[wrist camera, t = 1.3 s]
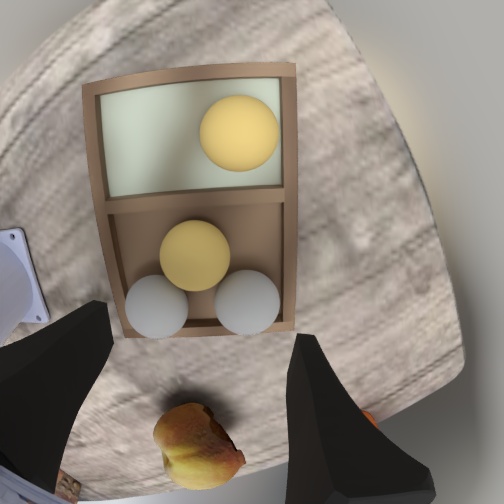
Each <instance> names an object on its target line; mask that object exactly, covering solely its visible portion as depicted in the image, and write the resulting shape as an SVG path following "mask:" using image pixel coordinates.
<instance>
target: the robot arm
mask: <svg viewBox="0 0 504 504" xmlns="http://www.w3.org/2000/svg"><path fill="white" fill-rule="evenodd" d="M12 234H14V236H15V238H14V237H13V235H12ZM49 320H50V316H49V314H48V311H47V308H46V305H45V303H44V300H43V297H42V294H41V291H40V288H39V285H38V282H37V279H36V275H35V272H34V269H33V265H32V262H31V259H30V255H29V251H28V248H27V244H26V240H25V236H24V233H23V231H22V230H21V229H20V228H15V229H8V230H1V231H0V504H28V503H27V502H29V503H31V504H72V503H70V502H68V501H66V500H63V499H61V498H59V497H57V496H55V495H53V494H55V489H56V483H57V478H58V473H59V468H60V464H61V461H62V457H63V453H64V450H65V446H66V443H67V440H68V437H69V434H70V432H71V429H72V426H73V424H74V421H75V419H76V416H77V414H78V411H79V409H80V407H81V405H82V404H83V402H84V400H85V398H86V397H87V395H88V393H89V391H90V390H91V388H92V386H93V384H94V383H95V381H96V379H97V378H98V376H99V374H100V372H101V371H102V369H103V367H104V365H105V363H106V361H107V359H108V357H109V354H110V352H111V349H112V347H113V344H114V341H113V336H112V331H111V325H110V319H109V314H108V307H107V303H105V302H100V301H96V300H93V301H91V302H89V303H87V304H85V305H83V306H81V307H80V308H78V309H76V310H75V311H73V312H71V313H69V314H68V315H66V316H64V317H63V318H61V319H59V320H57V321H56V322H54V323H52V324H50V325H49V326H47V327H45V328H43V329H41V330H39V331H37V332H35V333H34V334H32V335H30V336H28V337H25V338H23V339H21V340H19V341H16V342H14V343H12V344H9V345H6V346H3V347H2V345H3V344H4V343H5V341H6V340H7V339H8V337H9V336H10V335H11V333H12V332H13V331H14V329H15V328H16V327H17V326H18V324H19V323H20V322H28V323H47V322H48V321H49ZM286 407H287V423H288V440H289V463H288V479H287V490H286V500H285V504H430V503H431V502H432V501H433V500H434V498H435V496H436V492H435V487H434V482H433V479H432V476H431V473H430V470H429V468H427V467H426V466H424V465H423V464H421V463H420V462H418V461H417V460H415V459H414V458H412V457H411V456H409V455H408V454H406V453H405V452H404V451H402V450H401V449H400V448H399V447H398V446H396V445H395V444H394V443H393V442H391V441H390V440H389V439H388V438H387V437H386V436H385V435H384V434H383V433H382V432H381V431H380V430H379V429H378V428H377V427H376V426H375V425H373V424H372V422H371V421H370V420H369V419H368V418H367V417H366V416H365V415H364V413H363V412H362V411H361V410H360V409H359V407H358V406H357V405H356V404H355V402H354V401H353V400H352V398H351V397H350V396H349V394H348V393H347V391H346V390H345V388H344V387H343V385H342V384H341V382H340V381H339V379H338V377H337V376H336V374H335V373H334V371H333V369H332V368H331V366H330V364H329V362H328V360H327V359H326V357H325V355H324V353H323V351H322V349H321V347H320V345H319V343H318V341H317V339H316V337H315V336H314V335H309V334H300V333H297V336H296V340H295V344H294V348H293V352H292V356H291V360H290V364H289V368H288V372H287V386H286ZM26 501H27V502H26Z"/></svg>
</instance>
